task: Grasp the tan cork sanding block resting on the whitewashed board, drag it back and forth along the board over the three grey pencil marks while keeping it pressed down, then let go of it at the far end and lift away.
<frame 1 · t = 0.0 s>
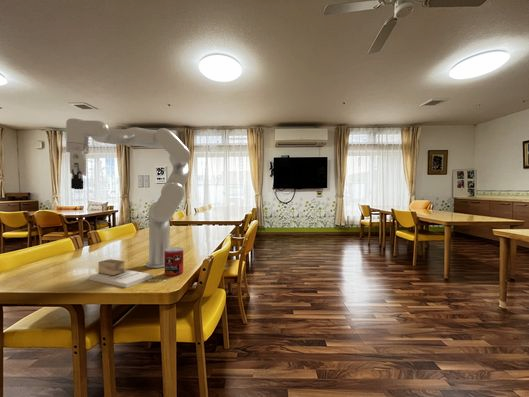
hand: (77, 188, 104), 37 cm above the table, tool pointing down, fingers open, 9 cm apart
board: (121, 278, 100), on the table
canned food: (174, 274, 107), on the table
sanding block: (111, 273, 103), point 2 cm above the table, touching board
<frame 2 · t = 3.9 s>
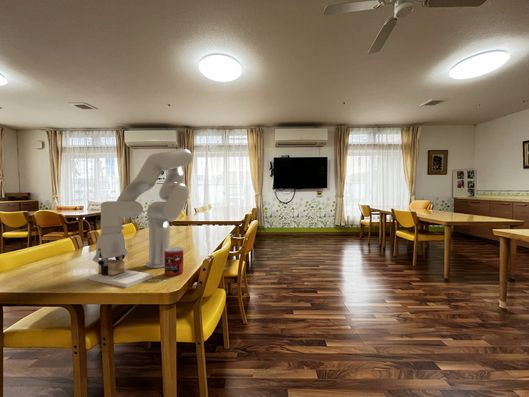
hand: (111, 272, 103), 2 cm above the table, tool pointing down, fingers closed on sanding block, 5 cm apart
sanding block: (111, 273, 103), point 2 cm above the table, touching board, gripper
everything else where it was.
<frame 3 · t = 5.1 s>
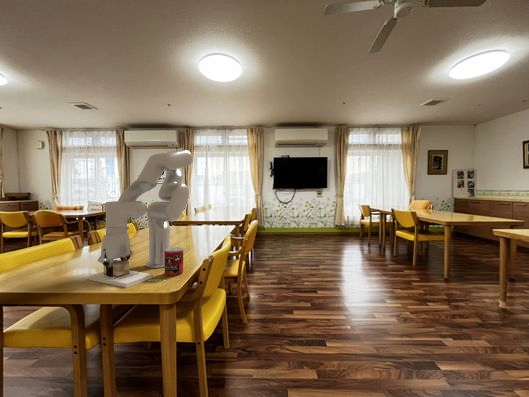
hand: (116, 273, 101), 2 cm above the table, tool pointing down, fingers closed on sanding block, 5 cm apart
sanding block: (116, 274, 101), point 2 cm above the table, touching gripper
everything else where it was.
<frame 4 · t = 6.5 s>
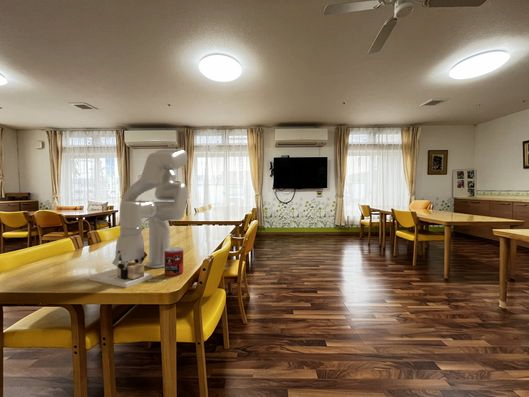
hand: (130, 276, 98), 2 cm above the table, tool pointing down, fingers closed on sanding block, 5 cm apart
sanding block: (130, 276, 98), point 2 cm above the table, touching gripper
everything else where it was.
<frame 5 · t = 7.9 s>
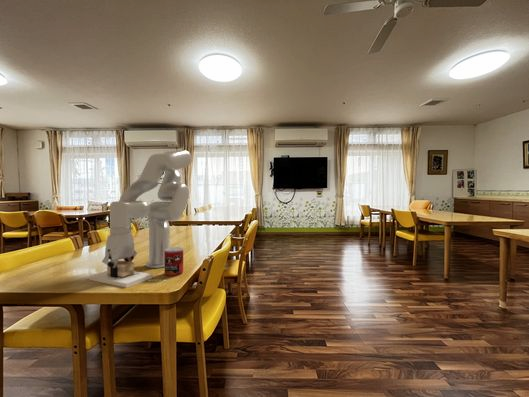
hand: (120, 274, 100), 2 cm above the table, tool pointing down, fingers closed on sanding block, 5 cm apart
sanding block: (120, 274, 100), point 2 cm above the table, touching gripper
everything else where it was.
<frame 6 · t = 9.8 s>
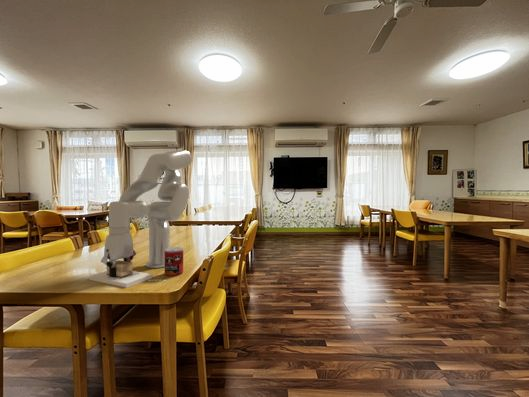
hand: (119, 274, 101), 2 cm above the table, tool pointing down, fingers closed on sanding block, 5 cm apart
sanding block: (119, 274, 101), point 2 cm above the table, touching gripper
everything else where it was.
when the fingers open (2 cm above the table, at t = 12.0 s): sanding block stays where it is, resting on board.
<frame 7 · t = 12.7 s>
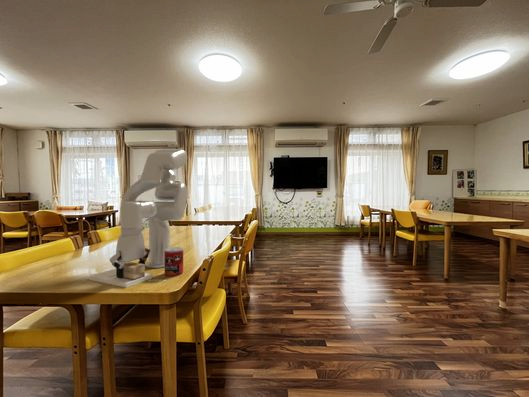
hand: (131, 274, 98), 3 cm above the table, tool pointing down, fingers open, 9 cm apart
sanding block: (131, 276, 98), point 2 cm above the table, touching board
everything else where it was.
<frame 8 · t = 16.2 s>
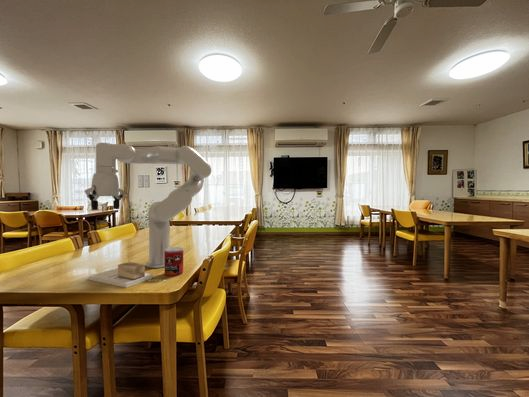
hand: (106, 209, 108), 28 cm above the table, tool pointing down, fingers open, 9 cm apart
nothing on the table moved.
at the end: sanding block inside the target area (0.1 cm from its centre), point 1.5 cm above the table; sanding block moved 11.9 cm from its start; the gripper is holding nothing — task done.
